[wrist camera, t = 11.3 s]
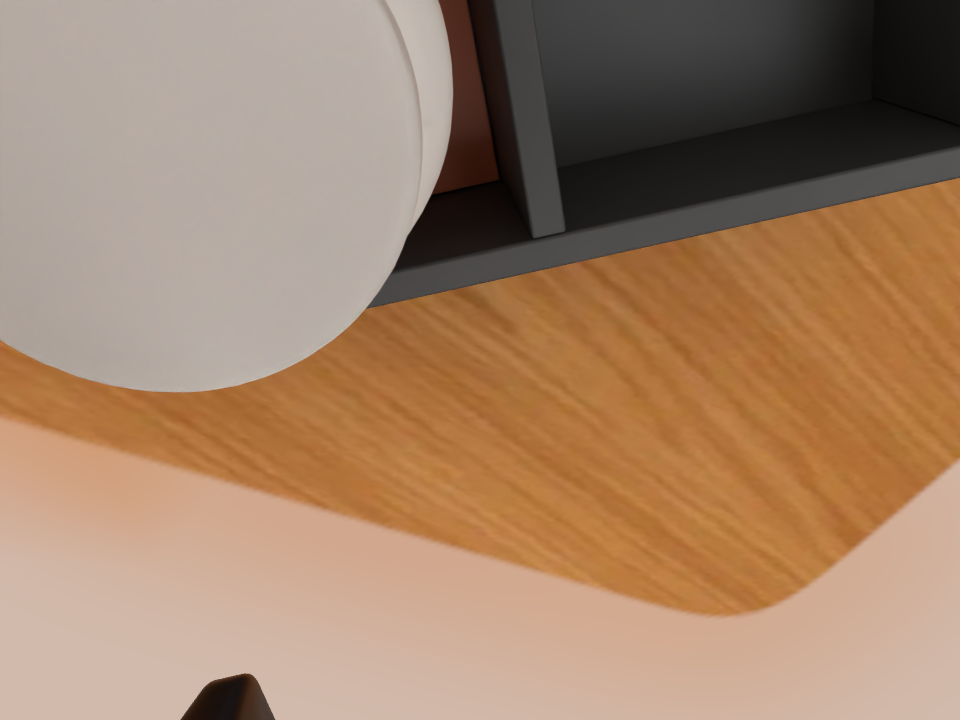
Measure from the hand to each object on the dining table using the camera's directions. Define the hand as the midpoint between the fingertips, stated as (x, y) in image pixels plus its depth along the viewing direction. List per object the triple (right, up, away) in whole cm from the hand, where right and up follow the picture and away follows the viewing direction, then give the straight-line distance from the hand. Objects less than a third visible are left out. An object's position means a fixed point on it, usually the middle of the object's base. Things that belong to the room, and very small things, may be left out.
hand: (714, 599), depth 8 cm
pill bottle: (-6, +9, +8) cm, 13 cm away
